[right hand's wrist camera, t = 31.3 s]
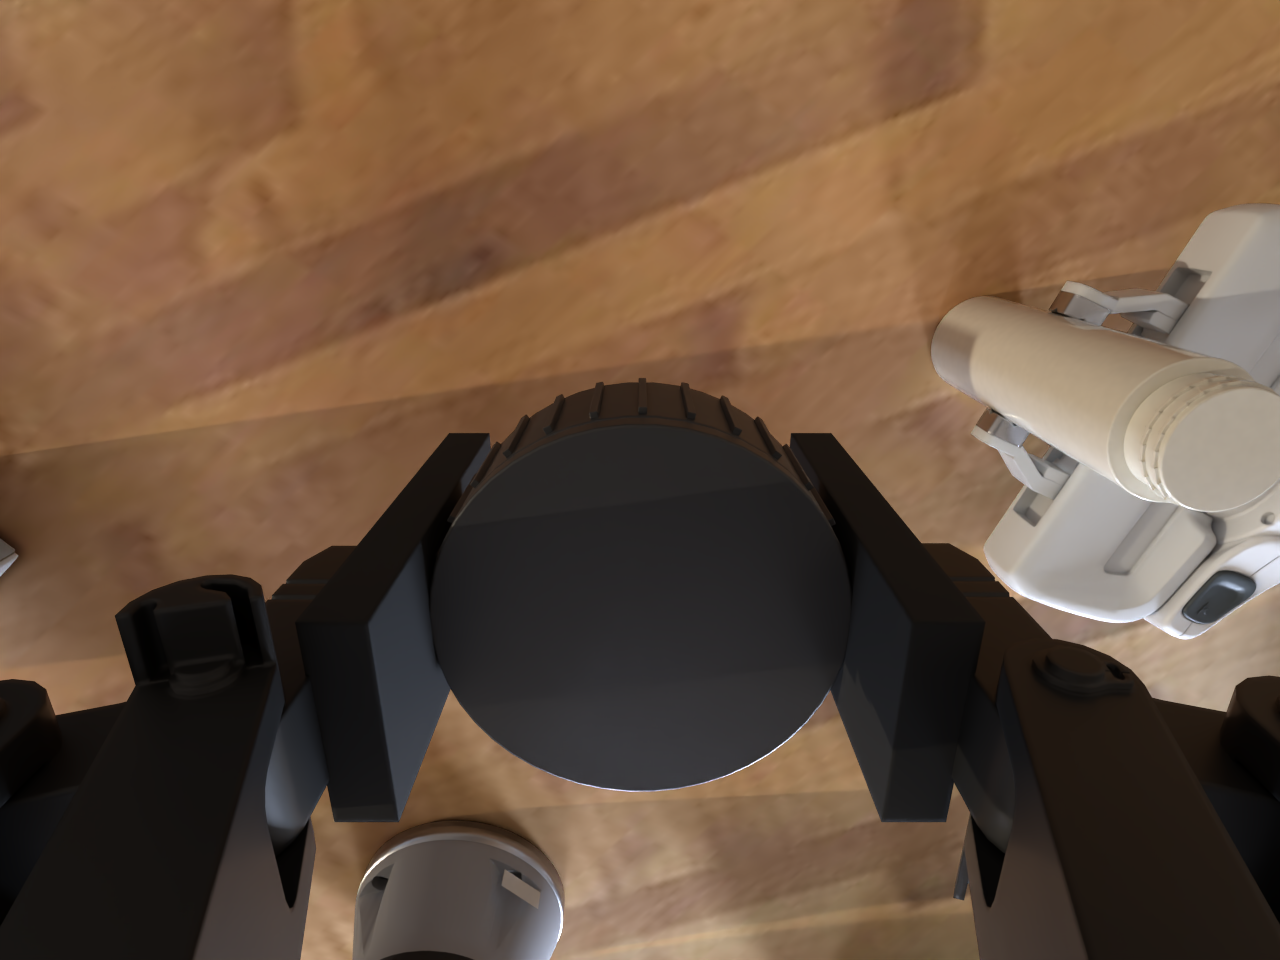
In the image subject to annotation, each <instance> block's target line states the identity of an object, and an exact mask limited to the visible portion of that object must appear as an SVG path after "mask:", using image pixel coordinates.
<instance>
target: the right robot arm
mask: <svg viewBox="0 0 1280 960" xmlns="http://www.w3.org/2000/svg"><path fill="white" fill-rule="evenodd" d="M790 449H791V450H792V452H793V454H794V455H795V457H796V459H797V460H798V462H799V463H800V465H801V467H802V468H803V470H804V472H805V473H806V475H807V476H808V478H809V479H810V481H811V482H812V484H813V486H814V487H815V489H816V491H817V492H818V494H819V496H820V497H821V499H822V501H823V502H824V504H825V505H826V507H827V509H828V510H829V512H830V514H831V515H832V517H833V519H834V521H835V523H836V524H835V525H833V526H831V527H832V529H833V531H834V533H835V535H836V537H837V539H838V540H839V542H840V545H841V548H842V551H843V554H844V556H845V560H846V563H847V565H848V570H849V576H850V581H851V587H852V604H851V614H850V622H849V630H848V639H847V646H846V653H845V658H844V662H843V664H842V667H841V669H840V671H839V673H838V676H837V678H836V680H835V682H834V685H833V686H832V688H831V689H830V690H831V693H832V695H833V698H834V700H835V703H836V706H837V708H838V711H839V713H840V716H841V719H842V721H843V724H844V726H845V729H846V731H847V734H848V737H849V739H850V742H851V744H852V747H853V749H854V752H855V755H856V757H857V760H858V762H859V765H860V768H861V770H862V773H863V775H864V778H865V780H866V783H867V786H868V788H869V791H870V793H871V796H872V798H873V801H874V804H875V806H876V809H877V811H878V814H879V817H880V819H881V822H946V819H947V814H948V809H949V804H950V799H951V794H952V789H953V784H954V783H955V785H956V787H957V789H958V790H959V792H960V794H961V796H962V798H963V800H964V802H965V803H966V805H967V807H968V809H969V811H970V817H969V821H968V826H967V831H966V836H965V840H964V845H963V850H962V854H961V859H960V864H959V868H958V873H957V878H956V883H955V890H954V897H953V898H956V899H960V900H964V898H965V893H966V889H967V884H968V883H969V886H970V893H971V900H972V907H973V914H974V921H975V928H976V935H977V941H978V948H979V955H980V960H1280V677H1275V676H1261V677H1252V678H1247V679H1245V680H1244V681H1242V682H1241V683H1239V684H1238V685H1237V686H1236V687H1235V690H1234V693H1233V695H1232V698H1231V701H1230V704H1229V707H1228V710H1227V712H1222V711H1217V710H1211V709H1206V708H1201V707H1196V706H1190V705H1185V704H1180V703H1174V702H1169V701H1164V700H1159V699H1155V698H1152V697H1151V695H1150V694H1149V692H1148V690H1147V688H1146V687H1145V685H1144V684H1143V683H1142V681H1141V680H1140V679H1139V678H1138V677H1137V676H1136V675H1135V674H1134V672H1133V671H1132V670H1131V669H1129V668H1128V667H1126V666H1125V665H1123V664H1121V663H1120V662H1118V661H1117V660H1115V659H1114V658H1112V657H1111V656H1109V655H1106V654H1104V653H1101V652H1099V651H1096V650H1094V649H1091V648H1089V647H1087V646H1084V645H1080V644H1075V643H1071V642H1067V641H1062V640H1058V639H1052V638H1051V637H1050V636H1049V635H1048V634H1047V633H1046V632H1045V631H1044V630H1043V629H1042V627H1041V626H1040V625H1039V624H1038V623H1037V622H1036V621H1035V620H1034V619H1033V618H1032V617H1031V616H1030V615H1029V614H1028V613H1027V611H1026V610H1025V609H1024V608H1023V607H1022V606H1021V605H1020V604H1019V603H1018V602H1017V601H1016V600H1015V599H1014V598H1013V597H1009V592H1008V591H1007V590H1006V589H1005V588H1004V587H1003V586H1002V585H1001V584H1000V583H999V582H998V581H995V577H994V576H993V575H992V574H991V573H990V572H989V571H988V570H987V569H986V568H985V567H984V566H983V565H982V564H981V562H980V561H979V560H978V559H976V558H974V557H973V556H971V555H969V554H967V553H965V552H964V551H962V550H960V549H958V548H956V547H955V546H953V545H951V544H949V543H921V542H920V541H919V540H918V539H917V537H916V536H915V535H914V534H913V533H912V531H911V530H910V529H909V528H908V526H907V525H906V524H905V523H904V522H903V520H902V519H901V518H900V517H899V515H898V514H897V513H896V512H895V511H894V509H893V508H892V507H891V506H890V504H889V503H888V502H887V501H886V500H885V498H884V497H883V496H882V495H881V493H880V492H879V491H878V490H877V489H876V487H875V486H874V485H873V484H872V482H871V481H870V480H869V479H868V478H867V476H866V475H865V474H864V473H863V471H862V470H861V469H860V468H859V467H858V465H857V464H856V463H855V462H854V460H853V459H852V458H851V457H850V456H849V454H848V453H847V452H846V451H845V449H844V448H843V447H842V446H841V445H840V443H839V442H838V441H837V440H836V438H835V437H834V436H833V435H832V434H831V433H791V440H790ZM490 450H491V447H490V434H489V433H449V434H448V435H447V437H446V438H445V439H444V440H443V441H442V443H441V444H440V445H439V446H438V448H437V449H436V450H435V451H434V452H433V454H432V455H431V456H430V457H429V459H428V460H427V461H426V462H425V463H424V465H423V466H422V467H421V468H420V470H419V471H418V472H417V473H416V475H415V476H414V477H413V478H412V479H411V481H410V482H409V483H408V484H407V486H406V487H405V488H404V489H403V490H402V492H401V493H400V494H399V495H398V497H397V498H396V499H395V500H394V501H393V503H392V504H391V505H390V506H389V508H388V509H387V510H386V511H385V512H384V514H383V515H382V516H381V517H380V519H379V520H378V521H377V522H376V523H375V525H374V526H373V527H372V528H371V530H370V531H369V532H368V533H367V534H366V536H365V537H364V538H363V539H362V541H361V542H360V543H359V544H358V545H357V546H331V547H329V548H327V549H325V550H324V551H322V552H320V553H318V554H316V555H315V556H313V557H311V558H309V559H308V560H306V561H304V562H303V563H302V564H301V565H300V566H299V567H298V568H297V569H296V570H295V571H294V573H293V574H292V575H291V576H290V577H289V578H288V579H287V580H286V584H282V585H281V586H280V588H279V589H278V590H277V591H276V592H275V593H274V594H273V595H272V600H267V602H266V603H265V601H264V596H263V591H262V587H261V585H260V584H258V583H257V582H256V581H254V580H253V579H251V578H248V577H242V576H237V575H208V576H202V577H197V578H192V579H187V580H181V581H178V582H175V583H172V584H169V585H166V586H163V587H160V588H157V589H154V590H152V591H150V592H148V593H146V594H144V595H142V596H140V597H139V598H137V599H135V600H133V601H131V602H129V603H128V604H127V605H126V606H125V607H124V608H123V609H122V610H121V611H120V612H118V613H117V614H116V615H115V618H116V621H117V625H118V628H119V631H120V635H121V638H122V641H123V645H124V648H125V651H126V655H127V658H128V661H129V665H130V668H131V671H132V675H133V678H134V681H135V685H136V686H135V688H134V690H133V691H132V693H131V695H130V697H129V699H128V700H127V702H123V703H119V704H114V705H108V706H103V707H98V708H93V709H87V710H82V711H77V712H71V713H66V714H61V715H56V716H55V713H54V711H53V708H52V705H51V702H50V699H49V696H48V694H47V691H46V689H45V688H43V687H42V686H40V685H39V684H37V683H36V682H35V681H26V680H16V679H10V680H2V681H0V960H300V957H301V950H302V943H303V936H304V929H305V922H306V915H307V909H308V902H309V895H310V888H311V881H312V874H313V867H314V860H315V853H316V844H315V837H314V831H313V826H312V821H311V817H310V816H311V814H312V812H313V810H314V808H315V806H316V805H317V803H318V801H319V799H320V797H321V795H322V793H323V791H324V790H325V788H326V786H327V787H328V792H329V797H330V802H331V807H332V812H333V817H334V822H399V820H400V818H401V815H402V813H403V810H404V807H405V805H406V802H407V800H408V797H409V795H410V792H411V789H412V787H413V784H414V782H415V779H416V776H417V774H418V771H419V769H420V766H421V764H422V761H423V758H424V756H425V753H426V751H427V748H428V745H429V743H430V740H431V738H432V735H433V733H434V730H435V727H436V725H437V722H438V720H439V717H440V715H441V712H442V709H443V707H444V704H445V702H446V699H447V696H448V694H449V691H450V689H451V688H450V687H449V685H448V683H447V681H446V679H445V676H444V674H443V672H442V670H441V667H440V665H439V663H438V659H437V656H436V652H435V648H434V642H433V634H432V625H431V617H430V607H429V592H430V585H431V579H432V574H433V569H434V564H435V562H436V560H435V555H436V553H437V551H438V550H439V548H440V546H441V544H442V542H443V540H444V538H445V536H446V534H447V532H448V531H449V529H450V527H451V525H452V523H450V522H448V521H447V520H448V518H449V516H450V514H451V513H452V511H453V509H454V508H455V506H456V504H457V503H458V501H459V499H460V498H461V496H462V494H463V493H464V491H465V489H466V488H467V486H468V484H469V483H470V481H471V479H472V478H473V476H474V475H475V473H476V474H477V472H478V470H479V469H480V467H481V465H482V464H483V462H484V460H485V459H486V457H487V455H488V453H489V452H490ZM564 901H565V898H564V890H563V885H562V882H561V879H560V877H559V875H558V873H557V871H556V869H555V868H554V866H553V864H552V863H551V862H550V861H549V859H548V858H547V857H546V856H545V855H544V854H543V853H542V852H541V851H540V850H539V849H537V848H536V847H535V846H534V845H532V844H531V843H530V842H528V841H527V840H525V839H523V838H521V837H520V836H518V835H516V834H514V833H512V832H510V831H507V830H504V829H502V828H499V827H496V826H492V825H489V824H484V823H479V822H472V821H459V820H457V821H438V822H432V823H427V824H423V825H419V826H416V827H413V828H410V829H408V830H406V831H404V832H401V833H400V834H398V835H396V836H394V837H393V838H392V839H390V840H389V841H387V842H386V843H385V844H384V845H383V846H382V847H381V848H380V849H379V850H378V851H377V852H376V853H375V855H374V856H373V858H372V859H371V861H370V863H369V865H368V867H367V869H366V872H365V874H364V877H363V879H362V881H361V884H360V887H359V889H358V892H357V897H356V905H355V920H354V940H353V960H549V959H550V957H551V955H552V953H553V951H554V949H555V947H556V944H557V941H558V939H559V936H560V933H561V929H562V922H563V912H564Z"/></svg>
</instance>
